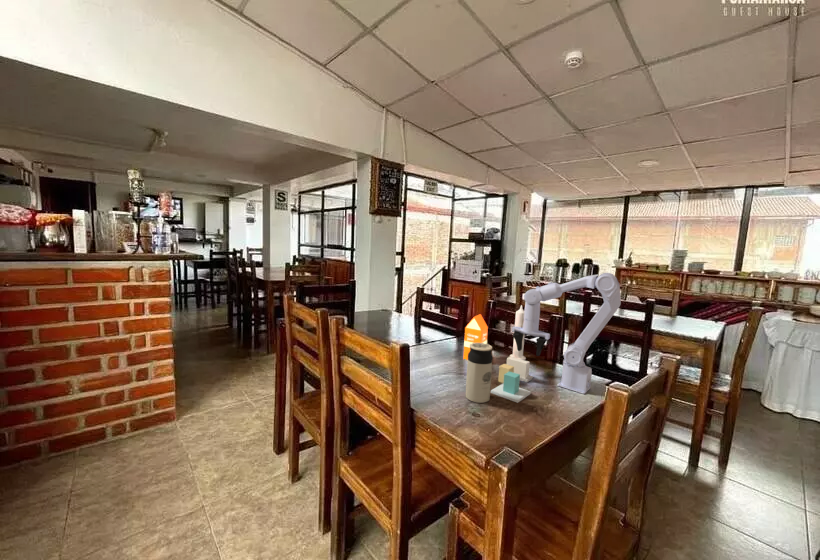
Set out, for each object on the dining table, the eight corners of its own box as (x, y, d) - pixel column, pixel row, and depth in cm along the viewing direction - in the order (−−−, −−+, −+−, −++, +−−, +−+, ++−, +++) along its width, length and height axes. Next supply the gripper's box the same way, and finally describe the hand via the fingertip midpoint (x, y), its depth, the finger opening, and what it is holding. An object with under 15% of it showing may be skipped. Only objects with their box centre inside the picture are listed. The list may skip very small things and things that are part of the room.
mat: (530, 393, 114) (530, 391, 114) (517, 402, 107) (517, 400, 107) (504, 384, 121) (504, 382, 121) (490, 392, 114) (490, 390, 114)
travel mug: (461, 394, 112) (464, 343, 110) (480, 391, 115) (484, 341, 113) (473, 405, 104) (476, 350, 102) (494, 401, 107) (498, 348, 105)
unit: (532, 378, 127) (534, 361, 127) (527, 382, 124) (528, 364, 123) (508, 371, 134) (510, 354, 134) (502, 374, 131) (504, 357, 130)
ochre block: (513, 381, 124) (514, 366, 123) (508, 384, 121) (509, 369, 120) (503, 378, 127) (504, 363, 126) (498, 381, 124) (499, 366, 123)
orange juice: (486, 357, 150) (489, 315, 148) (479, 363, 143) (482, 318, 140) (470, 354, 154) (472, 312, 152) (462, 359, 147) (465, 315, 145)
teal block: (518, 391, 114) (520, 374, 114) (514, 394, 111) (515, 377, 110) (507, 387, 117) (509, 371, 116) (503, 390, 114) (504, 374, 113)
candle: (515, 361, 147) (519, 306, 144) (506, 355, 153) (510, 303, 151) (528, 360, 149) (533, 306, 146) (519, 355, 155) (523, 303, 153)
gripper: (554, 321, 126) (551, 355, 127) (518, 314, 136) (515, 346, 137) (547, 324, 121) (543, 359, 122) (510, 317, 131) (508, 349, 132)
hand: (528, 352), depth 130 cm, fingers open, 7 cm apart
